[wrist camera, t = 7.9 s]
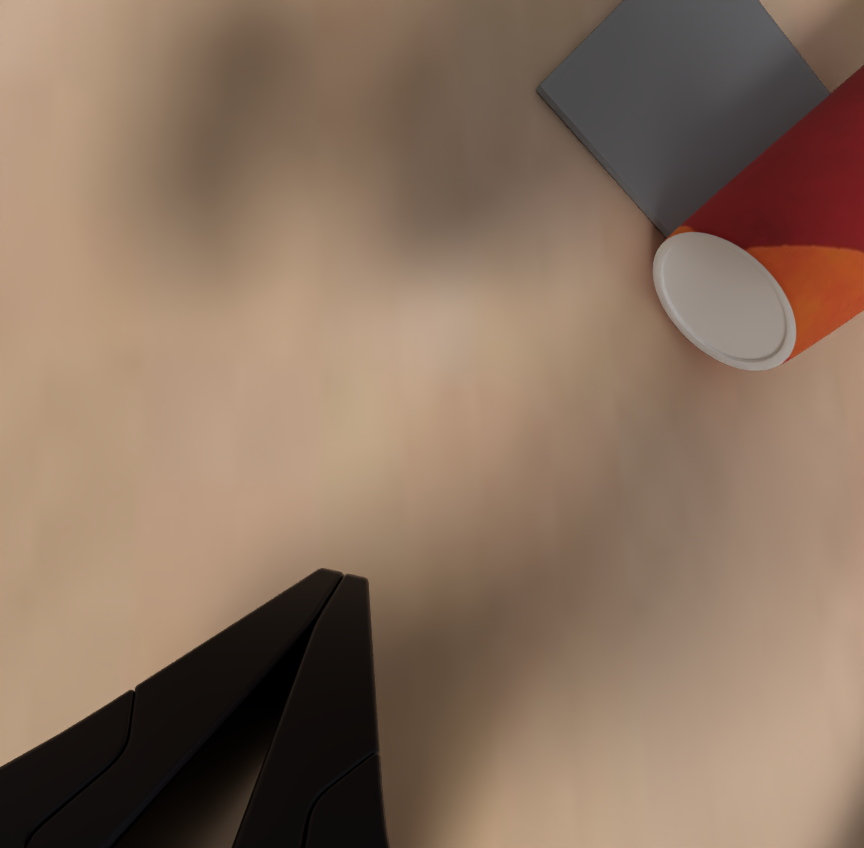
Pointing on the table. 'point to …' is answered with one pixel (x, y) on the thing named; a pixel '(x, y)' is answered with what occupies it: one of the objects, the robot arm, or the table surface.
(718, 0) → the mat
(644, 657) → the table surface
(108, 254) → the table surface
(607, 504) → the table surface
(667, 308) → the paper cup
